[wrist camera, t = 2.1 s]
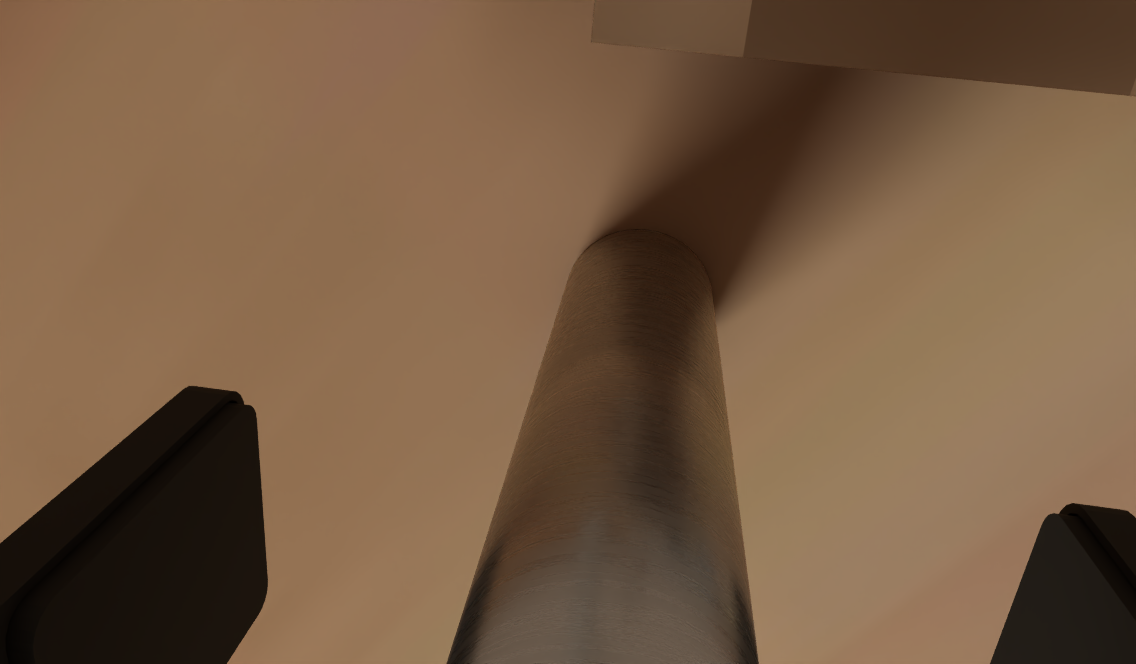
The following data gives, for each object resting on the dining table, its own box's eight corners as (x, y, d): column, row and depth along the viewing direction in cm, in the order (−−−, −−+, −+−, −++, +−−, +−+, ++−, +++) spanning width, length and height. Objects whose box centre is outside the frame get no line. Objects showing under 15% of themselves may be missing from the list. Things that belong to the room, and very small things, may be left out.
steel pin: (571, 221, 16) (271, 1031, 4) (723, 238, 15) (895, 1146, 4) (559, 356, 17) (300, 1299, 5) (700, 374, 17) (774, 1393, 5)
